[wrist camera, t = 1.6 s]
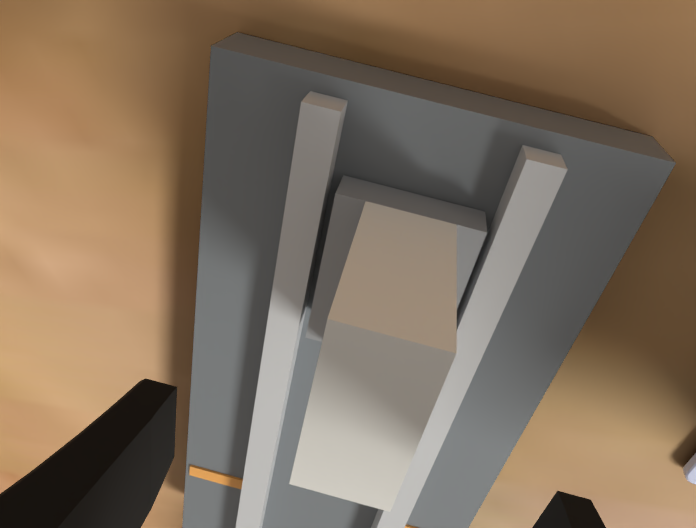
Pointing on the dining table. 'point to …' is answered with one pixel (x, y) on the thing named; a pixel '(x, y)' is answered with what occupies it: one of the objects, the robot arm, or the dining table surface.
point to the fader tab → (382, 336)
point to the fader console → (307, 250)
